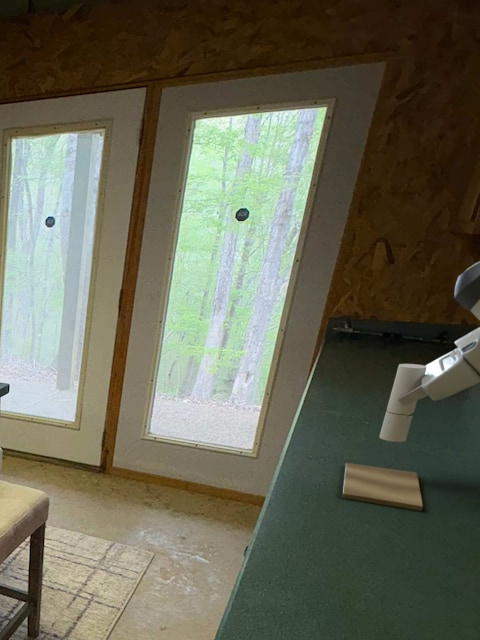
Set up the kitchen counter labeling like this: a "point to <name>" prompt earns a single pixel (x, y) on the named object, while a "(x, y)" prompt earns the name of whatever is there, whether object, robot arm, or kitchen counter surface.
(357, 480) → the birch board
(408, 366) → the tube
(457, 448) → the kitchen counter surface
